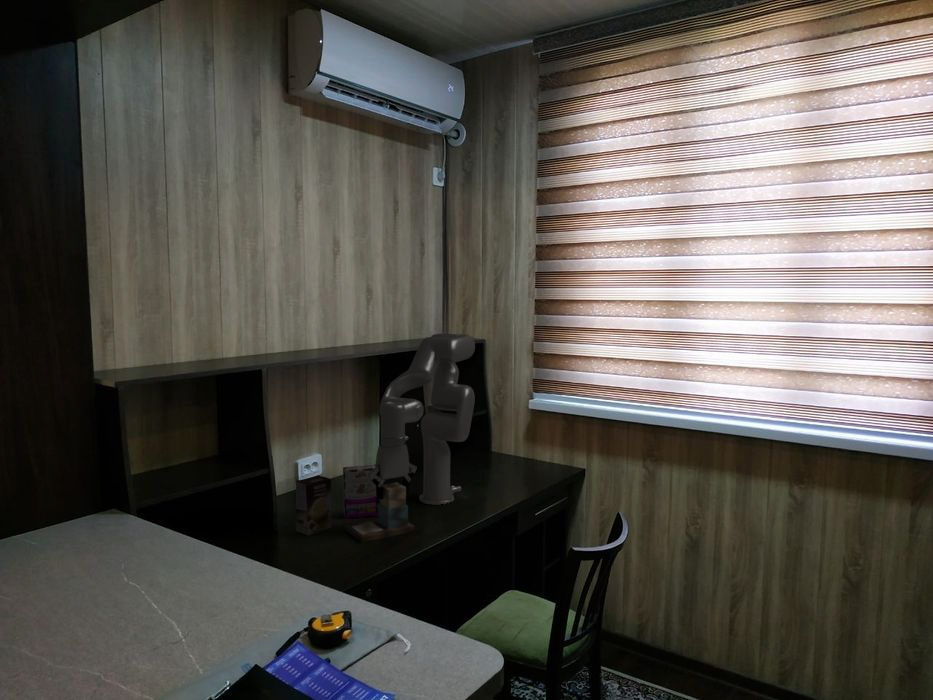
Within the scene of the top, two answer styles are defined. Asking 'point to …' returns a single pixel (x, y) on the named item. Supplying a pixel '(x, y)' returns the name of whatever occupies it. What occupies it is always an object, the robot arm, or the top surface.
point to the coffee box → (313, 505)
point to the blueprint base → (379, 534)
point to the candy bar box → (359, 492)
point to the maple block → (393, 495)
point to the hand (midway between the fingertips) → (392, 495)
